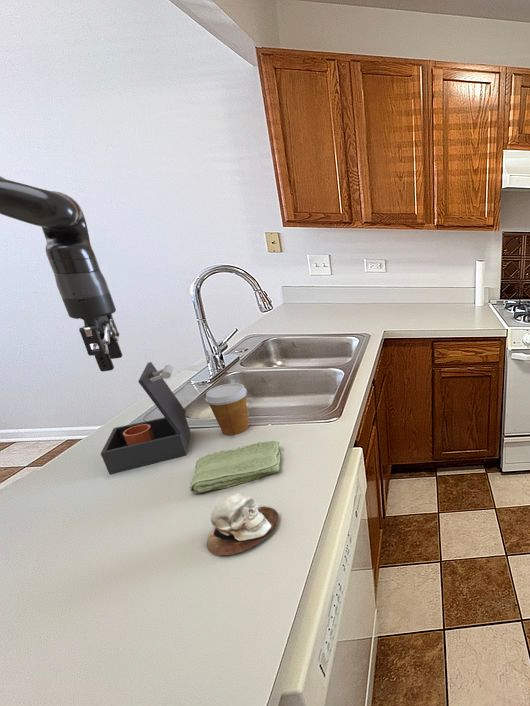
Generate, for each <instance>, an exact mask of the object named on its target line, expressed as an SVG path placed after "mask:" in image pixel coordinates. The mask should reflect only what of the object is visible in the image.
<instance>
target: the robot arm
mask: <svg viewBox="0 0 530 706" xmlns="http://www.w3.org/2000/svg"><path fill="white" fill-rule="evenodd" d="M0 215H1V216H5V217H7V218H11V219H14V220H17V221H20V222H23V223H26V224H30V225H33V226H37V227H41V229H42V233H43V235H44V238H45V240H46V245H45V254H46V257H47V260H48V263H49V265H50V268H51V270H52V273H53V275H54V280H55V284H56V287H57V289H58V293H59V294H60V297H61V299H62V302H63V304H64V307H65V310H66V313H67V315H68V316H69V318H70V319H74V320H79V319H80V320H83V324H84V325H83V326H82V327H79V328H78V329H79V330H78V332H79V333H80V336H81V339H82V341H83V343H84V346H85V350H86V352H87V355H88V356H93V357H94V359H95V360H96V364H97V366H98V368H99V371H100V372H110V371H113V370H114V368H115V366H114V363H113V360H114V359H121V358H122V357H123V353H122V351H121V347H120V344H119V341H120V340H119V338H120V333H119V330H118V327H117V325H116V323H115V320H114V317H113V314H114V313H116V311H117V309H116V305H115V303H114V300H113V297H112V294H111V291H110V288H109V285H108V283H107V280H106V278H105V276H104V274H103V273H102V271H101V268H100V265H99V262H98V260H97V256H96V254H95V252H94V249H93V247H92V244H91V239H90V234H89V229H88V224H87V221H86V217H85V215H84V212H83V210H82V207H81V206H80V204H79V203H78V202H77V201H76V200H75V199H74V198H73V197H71V196H70V195H68V194H66V193H64V192H61V191H57V190H56V191H54V190H48V189H45V188H44V189H43V188H40V187H36V186H32V185H29V184H25V183H21V182H18V181H14V180H9V179H7V178H5V177H3V176H1V175H0ZM97 346H98V348H96V347H97Z"/></svg>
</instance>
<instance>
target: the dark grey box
mask: <svg viewBox="0 0 530 706" xmlns="http://www.w3.org/2000/svg"><path fill="white" fill-rule="evenodd" d="M142 424H148V425H150V426H151V429H152V431H153V434H154V437H155V440H151V441H147V442H142V443H138V444H134V445H129V446H128V445H127V443H126V440H125V438H124V435H123V432H124V431H125V430H127V429H129V428H131V427H133V426H137V425H142ZM190 437H191V430H190V425H189V423H188V420H187V417H186V415H185V416H184V421H183V425H182V430H181V433H179V434H177V433H176V432H175V430H174V429H173V428H172V426H171V425H170V424H169V422H168V421H167V420H166V418H165V417H164V416H163V417H160V418H155V419H150V420H146V421H139V422H136V423H130V424H125V425H122V426H117V427H113V428H112V430H111V433H110V434H109V436H108V438H107V440H106V441H105V444H104V446H103V448H102V450H101V451H100V455H101V459H102V460H103V463H104V465H105V467H106V469H107V472H108V474H109V475H113V474H117V473H121V472H126V471H130V470H134V469H137V468H141V467H146V466H149V465H153V464H157V463H160V462H165V461H170V460H173V459H178V458H182V457H186V456H187V453H188V448H189V442H190Z"/></svg>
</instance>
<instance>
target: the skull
mask: <svg viewBox="0 0 530 706" xmlns="http://www.w3.org/2000/svg"><path fill="white" fill-rule="evenodd" d="M279 518H280V517H279V513H278V512H277V510H275V509H274V508H272V507H269V506H261V504H260V503H259V502H258V501H256V500H254V498H253V497H252V496H248V495H245V494H243V493H240V492H239V493H238V492H237V493H232V494H229V495H227V496H225V497H224V498H222V499H221V500H220V501H218V502H217V504H216V505H215V506H214V508H213V510H212V512H211V515H210V522H211V524H212V526H213V527H214V529H212V531H211V532H210V533H209V535H208V538H207V540H206V545H205V546H206V549H207V550H208V552H210V553H211V554H213V555H216V556H228V555H230V556H231V555H234V554H238V553H239V554H240V553H241V552H244V551H247V550H249V549H251V548H253V547H255V546H256V545H258V544H259V543H261V542H262V541H264V540H265V539H267V537H269V536H270V535H271V534H272V532H273V533H274V530H275V529H276V527H277V525H278V523H279V520H280V519H279Z"/></svg>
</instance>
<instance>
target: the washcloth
mask: <svg viewBox="0 0 530 706" xmlns="http://www.w3.org/2000/svg"><path fill="white" fill-rule="evenodd" d="M279 447H280V441H279V440H269V441H260V442H259V441H258V442H255V443H252V444H247V445H244V446H243V445H242V446H239V447H236V448H233V449H232V448H231V449H228V450H220V451H217V452H213V453H208V454H205V455H203V456H201V457H199V458H198V459H197V460H196V461H195V469H194V474H195V475H194V476H193V477H192V479H191V481H190V485H189V491H190V493H192V494H203V493H206V492H209V491H215V490H220V489H223V490H225V489H227V488H230V487H233V486H236V485H237V486H238V485H240V484H243V483H248V482H252V481H255V480H258V479H260V478H263V477H264V478H265V477H266V476H269V475H273V474H276V473H278V472H280V461H281V453H280V451H279V450H280V449H279Z"/></svg>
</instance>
